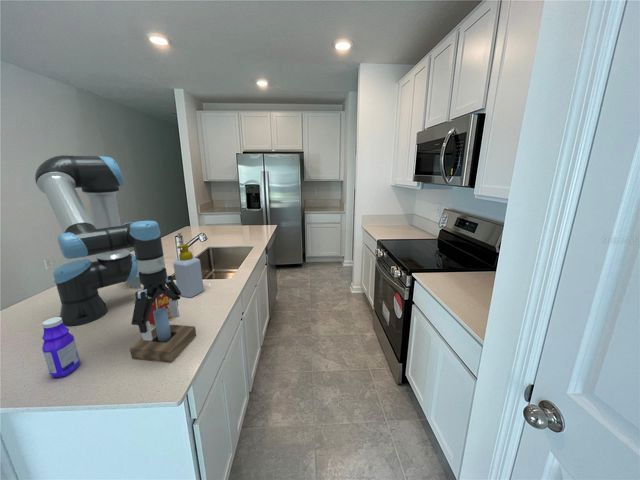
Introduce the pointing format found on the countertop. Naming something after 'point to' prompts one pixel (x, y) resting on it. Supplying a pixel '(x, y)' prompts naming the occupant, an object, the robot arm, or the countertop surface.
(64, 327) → the bottle
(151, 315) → the milk carton
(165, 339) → the peg
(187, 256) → the soap bottle
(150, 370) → the countertop surface
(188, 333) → the socket block
